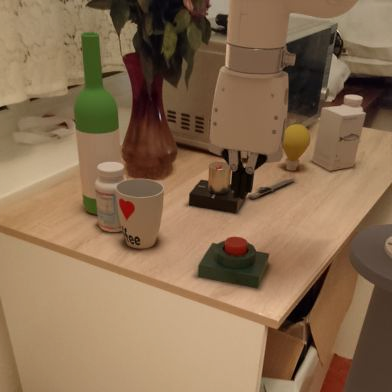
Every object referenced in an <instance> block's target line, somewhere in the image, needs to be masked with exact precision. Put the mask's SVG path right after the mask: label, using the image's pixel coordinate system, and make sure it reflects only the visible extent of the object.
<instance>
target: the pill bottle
mask: <svg viewBox="0 0 392 392" xmlns="http://www.w3.org/2000/svg"><path fill="white" fill-rule="evenodd" d="M97 170H98V176H99V178H98V179H97V180H96V182H95V193H96V204H97V214H98V215H97V223H98V227H99V228H101V230H102V231H105V232H108V233H109V232H110V233H118V232H123V231H122V228H121V223H120V219H119V214H118V208H117V199H116V190H115V186H116V185H117V184H118V183H119V182H121V181H124V180H128V179H127V177H125V165H124V164H123V163H122V162H121V163H118V162H104V163H101V164H99V165H98V166H97Z"/></svg>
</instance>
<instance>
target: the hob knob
mask: <svg viewBox="0 0 392 392" xmlns="http://www.w3.org/2000/svg"><path fill="white" fill-rule="evenodd" d="M231 177H232V171H231V170H230V167H229V165H228V163H227V162H226V161H212V162H210V163H209V164H208V178H207V179H208V180H207V181H208V191H210V192H211V193H215V194H225V193H228V192H229V190H230V184H231Z"/></svg>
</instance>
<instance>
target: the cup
mask: <svg viewBox="0 0 392 392" xmlns="http://www.w3.org/2000/svg"><path fill="white" fill-rule="evenodd" d="M115 190H116V199H117V208H118V214H119V219H120V223H121V228H122V231H121V232H122V234H123V237H124V239H125V242H126V244H127V246H129V247H131V248H132V249H133V248H134V249H140V250H141V249H148V248H151V247H153V246H154V245H155V243H156V241H157V237H158V235H159V232H160V228H161V223H162V217H163V211H164V210H163V209H164V195H165V185H163V184H162V183H161V182H160V181H157V180H153V179H151V178H150V179H149V178H129V179H127V180H124V181H121V182H119V183H118V184H117V185H116V186H115Z"/></svg>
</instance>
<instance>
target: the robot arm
mask: <svg viewBox="0 0 392 392" xmlns="http://www.w3.org/2000/svg"><path fill="white" fill-rule="evenodd" d="M358 2H359V0H229V1H228V14H227V27H226V28H227V29H226V44H225V58H224V65H223V66H221V68H220V69H219V72H218V76H217V80H216V84H215V91H214V96H213V101H212V108H211V114H210V115H211V116H210V125H209V140H210V141H209V143H208V147H207V150H208V151H209V152H210V153H212V154H215V155H217V156H220V157H222V158H223V160H224V162H226V163H228V165H229V167H230V170H231V178H230V184H231V190H234V193H233V198H236V199H237V198H238V197H239V198H240V199H242V200H244V199H245V197H246V198H247V196H248V195H249V194H252V192H253V188H254V181H255V180H254V178H255V171H256V170H258V169H259V168H261V167H262V166H263V165H265V164H272V163H280V162H281V161H282V159H283V157H284V150H283V147H282V144H283V141H284V137H285V130H286V128H287V120H288V107H289V73H288V72H287V71H284V70H283V69H284V68H285V67H289V66H292V67H293V66H295V63H296V56H297V55H296V53H291V52H290V51H288V49H287V39H288V38H287V37H288V31H289V30H288V29H289V23H290V15H291V14H296V15H304V16H309V17H313V18H319V19H333V18H337V17H340V16H342V15H345V14H346V13H348V12H349V11H350V10H352V9H353V7H355V6H356V4H358ZM242 152H246V153H248V159H247V163H246V165H244V163H243V153H242ZM245 200H246V199H245ZM245 200H244V201H245ZM384 250H385V252H386V254H387V255H388V256H389V257H390V258H391V259H392V236H391V237H389V238H388V239H387V240H386V243H385V246H384Z"/></svg>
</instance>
